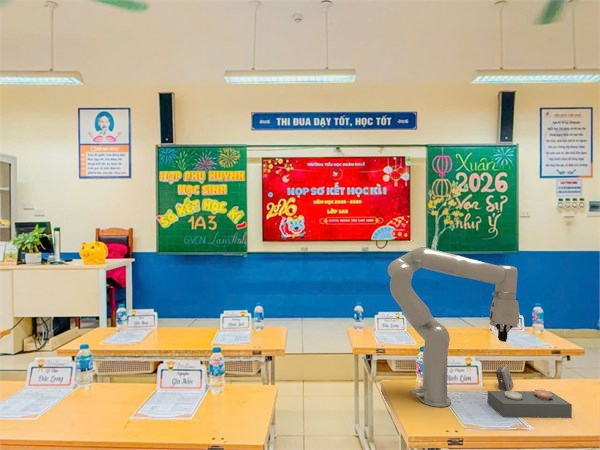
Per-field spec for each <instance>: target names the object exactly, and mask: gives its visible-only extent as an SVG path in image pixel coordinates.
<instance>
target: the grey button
mask: <svg viewBox="0 0 600 450" xmlns="http://www.w3.org/2000/svg"><path fill="white" fill-rule="evenodd" d="M504 391H505V396H506V397H507V398H509V399H510V400H520V399H522V395H521V394H520V393H518V392H514V391H515V390H511V391H507V390H504Z"/></svg>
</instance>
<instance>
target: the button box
mask: <svg viewBox="0 0 600 450" xmlns="http://www.w3.org/2000/svg"><path fill="white" fill-rule="evenodd" d="M505 391H506V390H487V404H488V405H489V406H490V407H491V406H492V408H493V409H494V411H496V412H497V411H498V412H499V413H498V412H497V413H498V414H500V415H501V416H502V417H503V418H552V419H553V418H556V419H557V418H559V419H560V418H562V419H563V418H566V419H567V418H571V419H572V417H573V416H572V415H573V414H572V411H573V410H572V409H573V408H572V407H573V404H572V403H571V402H569V401H567V400H566V399H564V398H562V397H560V396H559V395H557V394H555V393H554V392H552V391H550V390H549V391H548V390H547V391H548V392H550V393H552V398H549V400H540V399H539V398H537V396H536V395H535V394H534V391H535V390H533V391H532V390H527V391H526V390H513V391H514V392H518V393H520V394H521V395H522V399H520V400H510V399H509V398H507V397H506V396H505Z"/></svg>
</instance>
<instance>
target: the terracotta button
mask: <svg viewBox="0 0 600 450" xmlns="http://www.w3.org/2000/svg"><path fill="white" fill-rule="evenodd" d="M533 391H534V394H535V395H536V396H537V398H539V399H540V400H549V398H552V393H553V392H552V393H550V392H548V390H545V389H535V390H533Z"/></svg>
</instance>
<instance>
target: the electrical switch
mask: <svg viewBox="0 0 600 450" xmlns="http://www.w3.org/2000/svg"><path fill="white" fill-rule="evenodd" d="M495 375H496V379H497V382H498V383H497V384H498V386H499V391H512V389H513V387H514V382H513V378H512V376H511V375H512V374H511V371H510V368H509V366H508V365H507V364H505V365H504V367H498V368H497V370H496V371H495Z"/></svg>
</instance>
